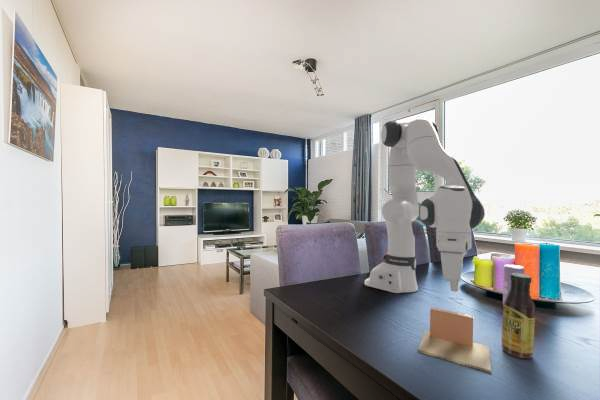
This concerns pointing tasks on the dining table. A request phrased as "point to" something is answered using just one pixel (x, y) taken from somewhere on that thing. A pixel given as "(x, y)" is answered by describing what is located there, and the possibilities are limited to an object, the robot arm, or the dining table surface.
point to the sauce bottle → (518, 318)
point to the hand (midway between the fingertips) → (454, 290)
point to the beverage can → (506, 277)
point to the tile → (451, 326)
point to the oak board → (456, 352)
